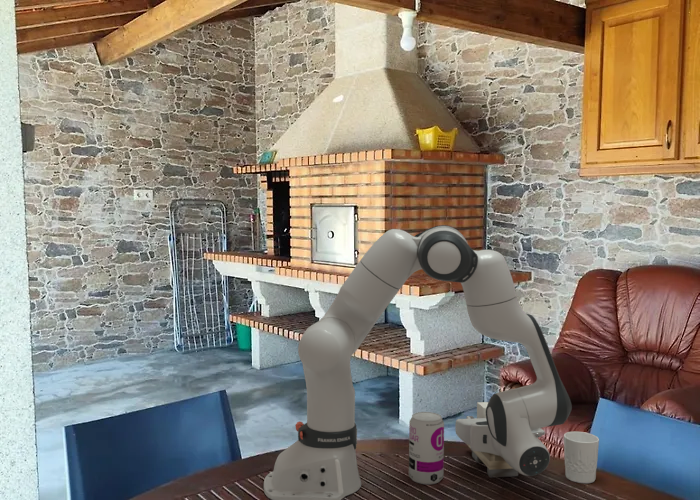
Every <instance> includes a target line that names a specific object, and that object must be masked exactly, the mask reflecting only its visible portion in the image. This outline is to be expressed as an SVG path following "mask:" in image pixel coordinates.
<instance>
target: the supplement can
mask: <svg viewBox="0 0 700 500" xmlns="http://www.w3.org/2000/svg"><path fill="white" fill-rule="evenodd" d="M408 430H409V433H408V435H409V436H408V437H409V438H408V446H409V447H408V450H409V451H408V477H409V478H410V479H411V480H412V481H413V482H415V483H417V484H421V485H435V484H437V483H439V482H441V480H442V479H443V478H444V471H445V470H444V469H445V467H444V465H445V463H444V460H445V459H444V457H445V456H444V455H445V447H444V446H445V422H444V420H443V417H442V415H441V414H439V413H436V412H431V411H418V412H414V413H413V414H412V415H411V418H410V419H409V426H408Z"/></svg>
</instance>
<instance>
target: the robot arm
mask: <svg viewBox="0 0 700 500" xmlns="http://www.w3.org/2000/svg"><path fill="white" fill-rule="evenodd" d="M421 270H422V271H423V272H424V273H425V274H426V275H427V277H428V276H429V277H430V278H432V279H434V280H437V281H442V282H453V283H460V284H461V287H462V290H463V293H464V299H465V305H466V311H467V314H468V318H469V321H470V323H471V325H472V327H473V328H474V330H476V331H477V332H478V333H479V334H481V335H482V336H484V337H487V338H488V339H489V338H490V339H492V340H497V341H505V342H510V343H517V344H521V345H522V346H523V347H524V348H525V350H526V352H527V354H528V357H529V359H530V363H531V365H532V367H533V369H534V372H535V373H534V374H535V375H536V380H535V381H534V382H533V383H531V384H527V385H524V386H521V387H515V388H511V389H507V390H503V391H500V392H496V393H494V394H492V395H491V397H490V398H489V400H488V401H487V402H488V405H487V408H486V418H477V417H474V416H472V415H467V416H466V418H457V419H456V420H455V427H454V428H455V429H454V430H455V434H456V435H457V437H458V438H459V439H460V440H461V441H462V442H463V443H465V444H466V445H467V444H469V445H470V447H469V449H470V450H471V451H472V450H473V451H478V452H486V453H491V454H495V455H498V456H501V457H502V458H503V459H504V460H505V461H506V462H507V463H508V464H509V465H510V466H511V467H512V468H513V469H514V470H516V471H517V472H518V474H521V475H523V476H527V477H533V476H537V475H539V474H541V473H543V472H544V471H545V470H546V469H547V468H548V466H549V464H550V460H551V456H550V452H549V449H548V448H547V447H546V445H545V444H544V442H542V441H541V440H540V437H542V436H545V434H546V432H545V430H544V429H542V428H545V427H547V428H548V427H554V426H559V425H563V424H565V422H567V420H568V418H569V416H570V414H571V412H572V409H573V407H572V406H573V405H572V401H571V398H570V396H569V393H568V392H567V389H566V387H565V385H564V383H563V381H562V380H561V377H560V375H559V372H558V369H557V367H556V365H555V361H554V358H553V356H552V354H551V351H550V348H549V345H548V343H547V340H546V338H545V336H544V333H543V331H542V328H541V327H540V326H541V325H540V323H538V321H537V319H536V318H535V317H534V316H533V315H532V314H529V313H527V312H525V311H524V310H523V308H522V307H521V305H520V303H519V300H518V296H517V293H516V292H517V291H516V286H515V283H514V280H513V277H512V274H511V270H510V268H509V265H508V263H507V261H506V258H505V257H504V255H503V254H502V253H500V252H499V251H496V250H493V249H481V250H480V249H479V250H474V249H473V248H472V247H471V246H470V245H469V244H468V241H467V239H466V237H465V236H464V234H462V233H461V232H460V231H459V230H458V229H456V228H455V227H453V226H450V225H446V224H445V225H443V224H442V225H439V224H438V225H435V226H433V227H430V228H428V229H426V230H424V231H422V232H419V233H417V234H415V235H412V234H410V233H409V232H407V231H405V230H403V229H399V228H392V229H389V230H387V231H386V232H385V233H383V234H382V235H380V237H379V238H378V239H377V240H376V241H375V242H374V243H373V244H372V245H371V246H370V247H369V248H368V250H367V251H366V252H365V254H364V255H363V256H362V258H361V259H360V260H359V262H358V263H357V264H356V266H355V267H354V268H353V270H352V271H351V272H350V274H349V275H348V276H347V278H346V280H345V281H344V283H343V284H342V285H341V286H340V288H339V290H338V293H337V295H336V296H335V298H334V300H333V302H332V303H331V304H330V305H329V308H328V309H327V311H326V312H325V314H324V315H323V316H322V318H320V319H319V320H318V321H316V322H314V323H313V324H311V325H310V326H308V327H307V328H306V330H305V331H304V332H303V334H302V336H301V337H300V340H299V341H298V348H297V352H298V353H297V354H298V357H299V360H300V361H301V363H302V369H303V375H304V381H305V385H306V386H305V387H306V423H303V421H297V422H296V423H295V431H296V432H297V439H298V440H296V441H294V442H293V443H292V444H291V445H290V446H288V447H287V448H285V449H283V451H282V452H280V453H279V454H278V456H277V458H276V460H275V463H274V466H273V471H270V472H269V473H268V474H267V475H266V476H265V477H264V481H263V492H264V494H265V495H266V497H267V498H268V499H270V500H343V499H344V498H345V497H347V496H349V495H352V494H354V493H356V492H357V491H358V490H360V488H361V487H362V482H361V477H360V473H359V470H358V469H359V468H358V462H357V461H358V460H357V452H356V449H357V444H358V428H357V425H356V422H355V421H356V419H355V418H356V416H355V415H356V390H355V387H354V383H353V377H352V371H351V370H352V369H351V359H352V356H353V355H354V354H355V353H356V352H357V350H358V349H359V347H360V346H361V345H362V343H363V342H364V341H365V339H366V337H367V336H368V334H369V333H370V332H371V330H372V329H373V327H374V326H375V324H376V323H377V321H378V320H379V319H380V317H381V315H382V314H383V313H384V312H385V310H386V309H387V307H388V306H389V305H390V304H391V302H392V301H393V299H394V298H395V296H396V295H397V294H398V293H399V292H400V290H401V289H402V288H403V286H404V284H405V283H406V282H407V280H408V279H409V278H410V277H411V276H412V275H413V274H414V273H415V272H417V271H421Z"/></svg>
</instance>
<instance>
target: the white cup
mask: <svg viewBox="0 0 700 500" xmlns="http://www.w3.org/2000/svg"><path fill="white" fill-rule="evenodd" d="M599 443H600V439H599V437H598V436H597V435H594V434H592V433H589V432H584V431H567V432H565V433H564V434H563V445H564V446H563V452H564V466H565V467H564V470H565V472H564V474H565V477H566V479H567V480H570V481H571V482H574V483H579V484H591V483H594V482H595V480H596V478H597V467H598V457H599Z"/></svg>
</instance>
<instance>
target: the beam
mask: <svg viewBox="0 0 700 500" xmlns="http://www.w3.org/2000/svg"><path fill="white" fill-rule="evenodd" d="M466 445H467V446H468V448H470V445H469V444H466ZM471 457H472V458H473V459H474V460H475V462H476V463H483V464H484V465H485V466H486V467H487V470H486V471H487V473H486V475H487V476H488V477H489V478H506V477H507V478H508V477H518V476H519V472H517V471H516V470H514V469H513V468H512V467H511V466H510V465H509V464H508V463H507V462H506V461H505V460H504V459H503V458H502V457H501V456H498V455H495V454H491V453H486V452H478V451H473V450H471Z"/></svg>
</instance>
